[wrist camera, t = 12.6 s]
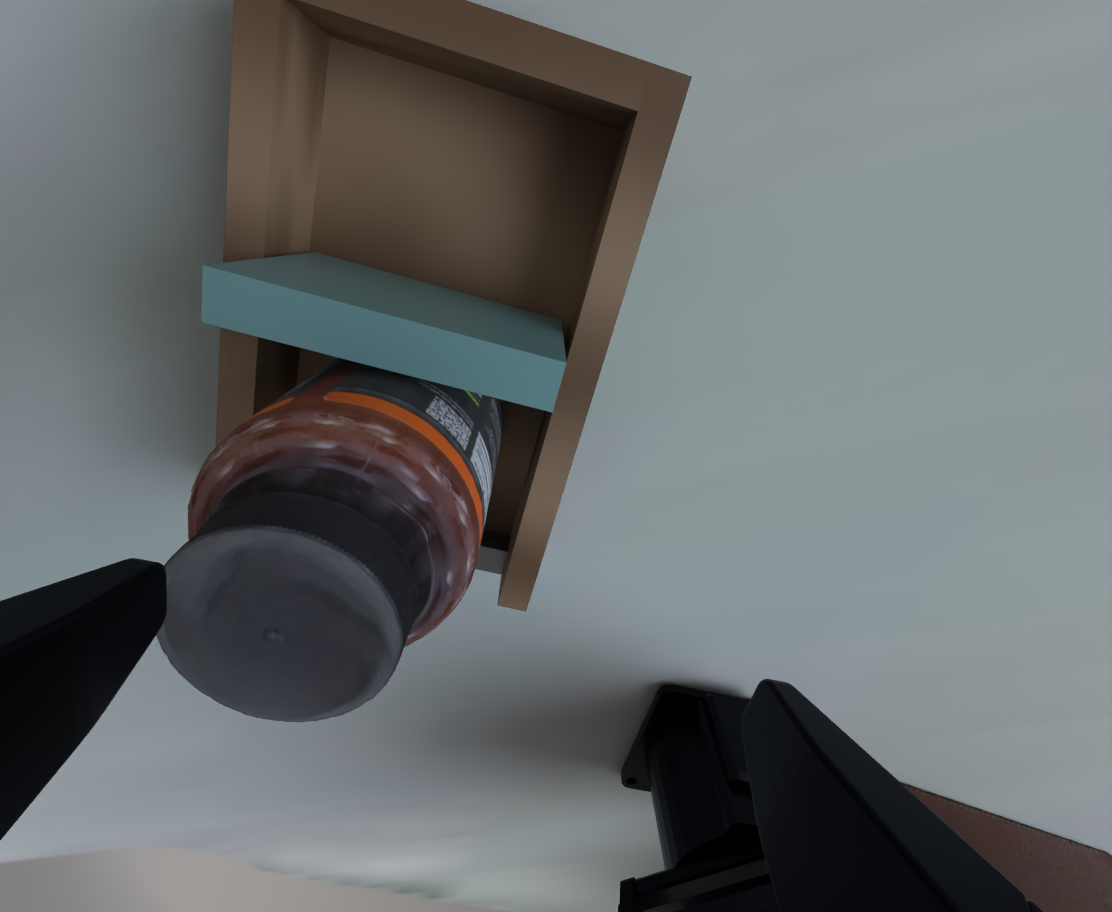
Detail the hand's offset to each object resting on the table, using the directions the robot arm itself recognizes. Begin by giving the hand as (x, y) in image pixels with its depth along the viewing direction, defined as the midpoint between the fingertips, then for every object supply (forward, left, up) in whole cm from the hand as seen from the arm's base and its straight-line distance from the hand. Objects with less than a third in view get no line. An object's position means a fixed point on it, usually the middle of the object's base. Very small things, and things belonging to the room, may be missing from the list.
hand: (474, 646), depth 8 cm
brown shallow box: (+2, +3, -13) cm, 13 cm away
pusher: (+3, +3, -12) cm, 12 cm away
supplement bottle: (-1, +3, -12) cm, 12 cm away
